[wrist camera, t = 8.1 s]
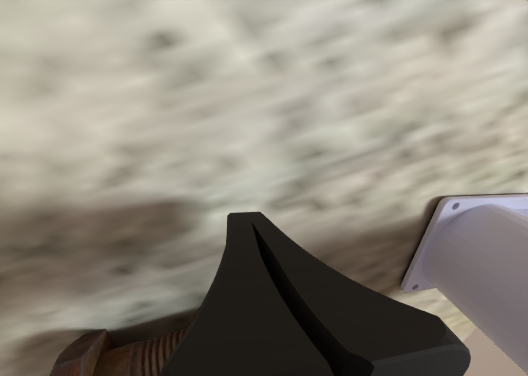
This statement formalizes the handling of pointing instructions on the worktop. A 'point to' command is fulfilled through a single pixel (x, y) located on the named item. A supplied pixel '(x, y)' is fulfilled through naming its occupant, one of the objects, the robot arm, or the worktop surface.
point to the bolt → (115, 356)
